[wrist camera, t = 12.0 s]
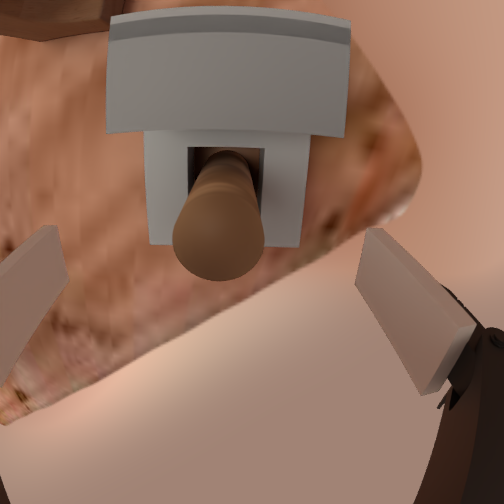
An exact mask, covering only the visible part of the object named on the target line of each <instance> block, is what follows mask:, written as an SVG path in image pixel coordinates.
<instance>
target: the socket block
mask: <svg viewBox="0 0 504 504" xmlns="http://www.w3.org/2000/svg"><path fill="white" fill-rule="evenodd" d="M350 37H351V21H350V20H346V19H341V18H336V17H331V16H326V15H320V14H314V13H307V12H301V11H293V10H284V9H274V8H262V7H244V6H197V7H179V8H167V9H157V10H149V11H141V12H134V13H128V14H122V15H116V16H111V21H110V31H109V42H108V56H107V76H106V134H113V133H124V132H138V131H144V165H145V187H146V203H147V217H148V229H149V240H150V245H173V242H172V234H173V229H174V225H175V223H176V221H177V218H178V216H179V214H180V212H181V210H182V208H183V206H184V204H185V202H186V200H187V198H188V196H189V194H190V192H191V190H192V188H193V186H194V147H247V148H260V158H259V176H258V193H257V204H258V208H259V212H260V217H261V221H262V225H263V230H264V236H265V243H264V247H299V244H300V236H301V227H302V219H303V210H304V201H305V191H306V182H307V171H308V161H309V150H310V138H311V135H321V136H330V137H339V138H344V131H345V121H346V109H347V96H348V81H349V63H350Z"/></svg>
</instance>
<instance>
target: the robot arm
mask: <svg viewBox="0 0 504 504" xmlns="http://www.w3.org/2000/svg"><path fill="white" fill-rule="evenodd" d="M68 282H69V277H68V273H67V269H66V265H65V261H64V256H63V252H62V247H61V242H60V237H59V232H58V227H57V225H44V226H43V227H41V228H40V229H39V230H38V231H36V232H35V233H34V234H33V235H32V236H30V237H29V238H28V239H27V240H26V241H25V242H23V243H22V244H21V245H20V246H19V247H18V248H17V249H15V250H14V251H13V252H12V253H11V254H10V255H9V256H8V257H7V258H6V259H4V260H3V261H2V262H1V263H0V387H2V386H3V384H4V383H5V381H6V379H7V377H8V375H9V373H10V372H11V370H12V368H13V366H14V365H15V363H16V361H17V359H18V358H19V356H20V354H21V353H22V351H23V349H24V348H25V346H26V344H27V343H28V341H29V340H30V338H31V336H32V335H33V333H34V332H35V330H36V329H37V327H38V325H39V324H40V322H41V321H42V319H43V318H44V316H45V315H46V313H47V312H48V310H49V309H50V308H51V306H52V305H53V303H54V302H55V300H56V299H57V297H58V296H59V295H60V293H61V292H62V290H63V289H64V288H65V286H66V285H67V284H68ZM355 285H356V287H357V288H358V290H359V292H360V293H361V295H362V296H363V298H364V300H365V301H366V303H367V304H368V306H369V307H370V309H371V311H372V312H373V314H374V316H375V317H376V319H377V320H378V322H379V324H380V325H381V327H382V329H383V330H384V332H385V334H386V336H387V337H388V339H389V341H390V342H391V344H392V345H393V347H394V349H395V351H396V352H397V354H398V356H399V358H400V359H401V361H402V363H403V365H404V366H405V368H406V370H407V372H408V374H409V375H410V377H411V379H412V381H413V383H414V384H415V386H416V388H417V390H418V392H419V394H420V395H421V396H423V395H427V394H430V393H434V392H438V391H439V390H440V389H441V387H442V385H443V384H444V382H445V381H446V379H447V378H448V380H449V381H450V383H451V385H452V386H451V387H450V389H449V390H448V392H447V393H446V394H445V396H444V397H443V399H442V400H441V402H440V403H439V405H438V407H437V408H438V409H440V407H441V406H442V405H443V404H444V403H445V405H444V410H443V414H442V418H441V422H440V426H439V430H438V434H437V438H436V441H435V444H434V448H433V451H432V455H431V457H430V460H429V464H428V466H427V469H426V472H425V475H424V478H423V481H422V484H421V486H420V489H419V491H418V494H417V496H416V499H415V501H414V503H413V504H504V331H502V330H500V329H498V328H493V327H490V328H486V329H485V328H484V327H483V326H482V325H481V323H480V322H479V321H478V320H477V319H476V318H475V317H474V316H473V315H472V313H471V312H470V311H469V310H468V309H467V308H466V307H464V305H463V304H462V303H461V301H460V300H457V297H456V296H455V295H454V294H453V293H452V292H451V291H450V290H449V289H447V288H446V287H444V286H443V285H441V284H440V283H439V282H438V281H437V280H435V278H434V277H433V276H432V275H431V274H430V273H429V272H428V271H427V270H426V269H425V268H424V267H423V266H422V265H421V264H420V263H419V262H417V260H415V259H414V258H413V257H412V256H411V255H410V254H409V253H408V252H407V251H406V250H405V249H404V248H403V247H402V246H401V245H400V244H399V243H398V242H396V240H394V239H393V238H392V237H391V236H390V235H389V234H388V233H387V232H386V231H385V230H383V229H382V228H367V230H366V235H365V240H364V244H363V250H362V254H361V258H360V263H359V267H358V272H357V276H356V281H355ZM0 504H10V501H9V499H8V496H7V493H6V491H5V488H4V485H3V482H2V479H1V477H0Z"/></svg>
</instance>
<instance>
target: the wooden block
mask: <svg viewBox="0 0 504 504" xmlns="http://www.w3.org/2000/svg"><path fill="white" fill-rule="evenodd" d="M124 1H125V0H0V35H4V36H10V37H16V38H22V39H28V40H33V41H39V42H41V41H46V40H50V39H55V38H60V37H66V36H71V35H77V34H84V33H91V32H99V31H108V30H110V21H111V16H116V15H121V14H122V9H123V5H124Z"/></svg>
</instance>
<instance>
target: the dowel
mask: <svg viewBox="0 0 504 504" xmlns="http://www.w3.org/2000/svg"><path fill="white" fill-rule="evenodd" d="M172 242H173V248H174V251H175V254H176V256H177V258H178V259H179V261H180V262H181V264H182V265H183V266H184V267H185V268H186V269H187V270H188V271H190V272H191V273H193V274H194V275H196V276H198V277H200V278H203V279H206V280H211V281H227V280H232V279H235V278H238V277H240V276H242V275H244V274H246V273H247V272H248V271H250V270H251V269H252V268H253V267H254V266H255V265H256V263H257V262H258V261H259V259H260V257H261V255H262V252H263V249H264V243H265V236H264V230H263V225H262V221H261V217H260V212H259V208H258V204H257V200H256V195H255V191H254V187H253V183H252V178H251V174H250V170H249V166H248V164H247V162H246V160H245V159H244V158H243V157H242V156H241V155H240V154H238V153H237V152H234V151H230V150H222V151H218V152H216V153H214V154H212V155H211V156H210V157H209V158H208V159H207V161H206V162H205V164H204V166H203V168H202V170H201V172H200V174H199V176H198V178H197V180H196V182H195V184H194V186H193V188H192V190H191V192H190V194H189V196H188V198H187V200H186V202H185V204H184V206H183V208H182V210H181V212H180V214H179V216H178V218H177V221H176V223H175V225H174V229H173V234H172Z"/></svg>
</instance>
